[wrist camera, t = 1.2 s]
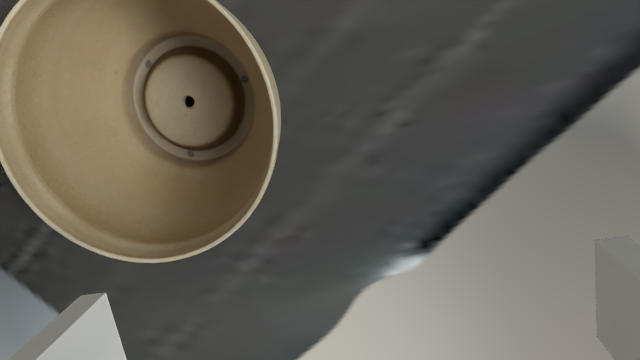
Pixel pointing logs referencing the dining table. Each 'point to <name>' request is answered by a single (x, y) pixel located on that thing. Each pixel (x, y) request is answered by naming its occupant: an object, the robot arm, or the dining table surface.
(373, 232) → the dining table surface
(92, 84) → the planter bowl
